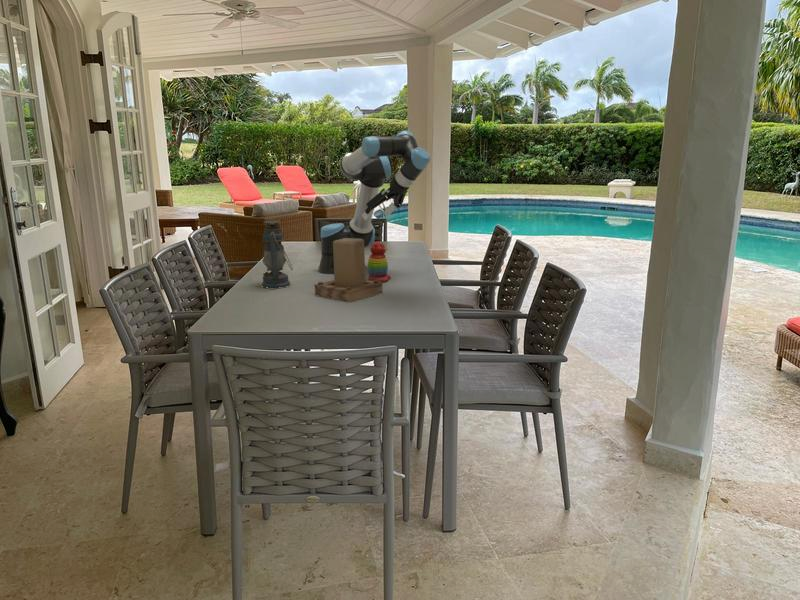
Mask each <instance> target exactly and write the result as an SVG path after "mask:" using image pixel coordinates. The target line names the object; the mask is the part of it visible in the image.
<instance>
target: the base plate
mask: <svg viewBox="0 0 800 600" xmlns="http://www.w3.org/2000/svg"><path fill="white" fill-rule="evenodd" d="M379 293H381V294H383V282H379V280H374V281H370V280H368V279H365V284H364V285H360V286H356V287H353V288H351V287H346V288H344V287H338V286H335V281H334V279H333V280H330V281H329V280H328V281H325V282H324V281H318V282H317V283H316V284H314V296H316V295H319V296H318V297H321V296H324V297H323V298H326V297H329V298H328V299H331V298H334V299H333V300H336V299H339V300H338V301H341V300H344V301H343V302H346V301H348V302H347V303H351V302H350V301H352V302H354V300H355V301H358V300H357V299H359V300H362V299H361V298H363V299H365V298H364V297H366V298H369V297H368V296H370V297H373V296H376V294H377V295H380V294H379ZM372 295H373V296H372Z"/></svg>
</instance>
